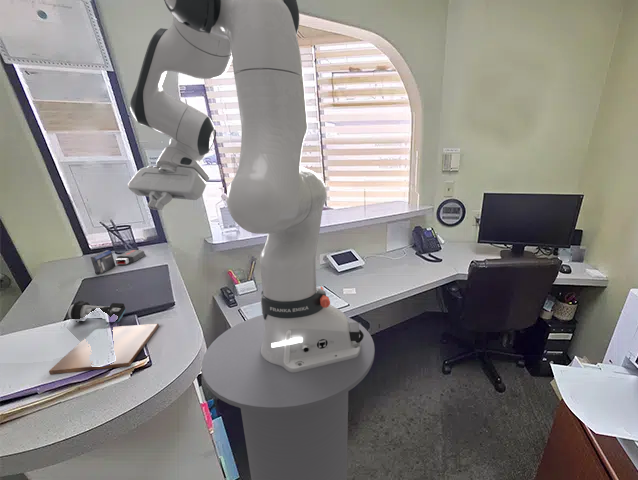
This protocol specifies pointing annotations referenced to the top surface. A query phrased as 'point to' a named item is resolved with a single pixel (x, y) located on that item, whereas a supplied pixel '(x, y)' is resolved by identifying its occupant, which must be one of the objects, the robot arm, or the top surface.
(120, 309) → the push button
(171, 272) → the top surface
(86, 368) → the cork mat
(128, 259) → the usb drive
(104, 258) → the mini dv tape
